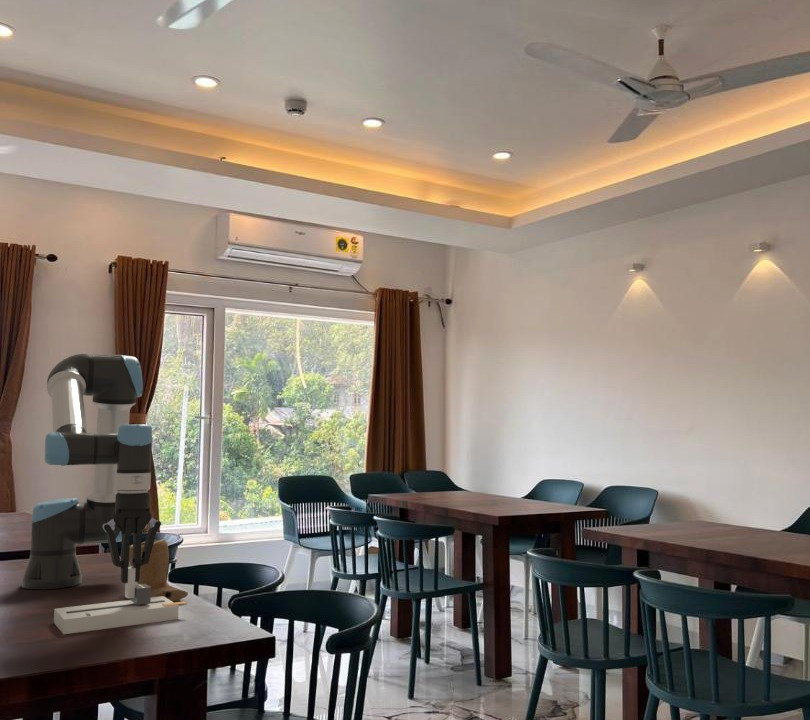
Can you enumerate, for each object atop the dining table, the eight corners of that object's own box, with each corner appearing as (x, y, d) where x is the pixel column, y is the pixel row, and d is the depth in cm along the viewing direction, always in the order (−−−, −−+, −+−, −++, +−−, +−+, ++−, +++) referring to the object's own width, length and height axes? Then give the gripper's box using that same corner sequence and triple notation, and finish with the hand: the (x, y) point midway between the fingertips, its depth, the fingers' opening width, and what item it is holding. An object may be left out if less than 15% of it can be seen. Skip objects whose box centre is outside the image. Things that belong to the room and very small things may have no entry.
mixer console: (53, 622, 169) (54, 607, 170) (171, 607, 184) (171, 594, 184) (63, 634, 159) (64, 618, 160) (187, 617, 174) (187, 603, 174)
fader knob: (131, 600, 175) (131, 584, 176) (144, 599, 177) (145, 583, 177) (136, 604, 171) (137, 588, 172) (150, 603, 173) (151, 587, 173)
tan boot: (119, 598, 194) (121, 538, 196) (165, 592, 202) (166, 534, 203) (141, 609, 183) (143, 545, 184) (189, 602, 190) (190, 540, 192)
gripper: (107, 493, 168) (103, 603, 166) (166, 491, 176) (163, 596, 173) (99, 491, 175) (95, 597, 172) (157, 489, 182) (153, 591, 180)
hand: (129, 596), depth 173 cm, fingers closed
